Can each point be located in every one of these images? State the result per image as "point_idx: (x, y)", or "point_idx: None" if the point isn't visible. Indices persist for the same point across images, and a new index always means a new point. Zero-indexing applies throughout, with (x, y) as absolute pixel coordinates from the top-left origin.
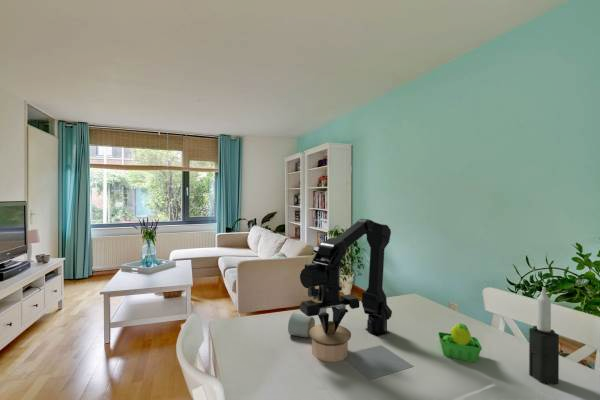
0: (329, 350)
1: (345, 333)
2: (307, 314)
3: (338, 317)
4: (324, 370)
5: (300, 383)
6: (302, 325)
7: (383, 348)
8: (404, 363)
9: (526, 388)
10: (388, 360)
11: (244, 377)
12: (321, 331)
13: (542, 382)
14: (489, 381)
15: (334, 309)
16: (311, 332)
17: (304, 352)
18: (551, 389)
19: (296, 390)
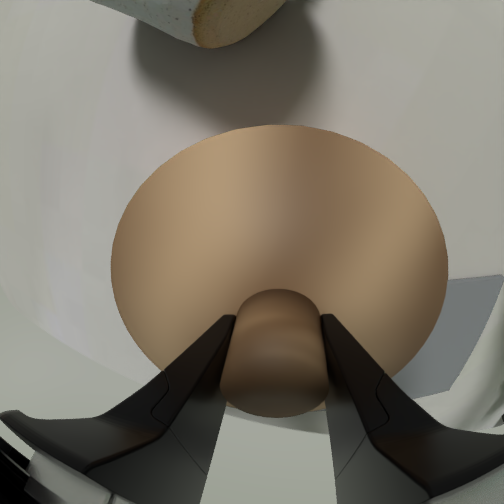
0: None
1: None
2: (24, 466)
3: (336, 474)
4: None
5: (116, 348)
6: (147, 13)
7: (489, 302)
8: (446, 380)
9: (483, 424)
10: (433, 364)
11: (8, 265)
12: (212, 281)
13: (502, 417)
14: (477, 416)
15: (375, 501)
16: (125, 265)
17: None
18: (493, 423)
19: (108, 360)
